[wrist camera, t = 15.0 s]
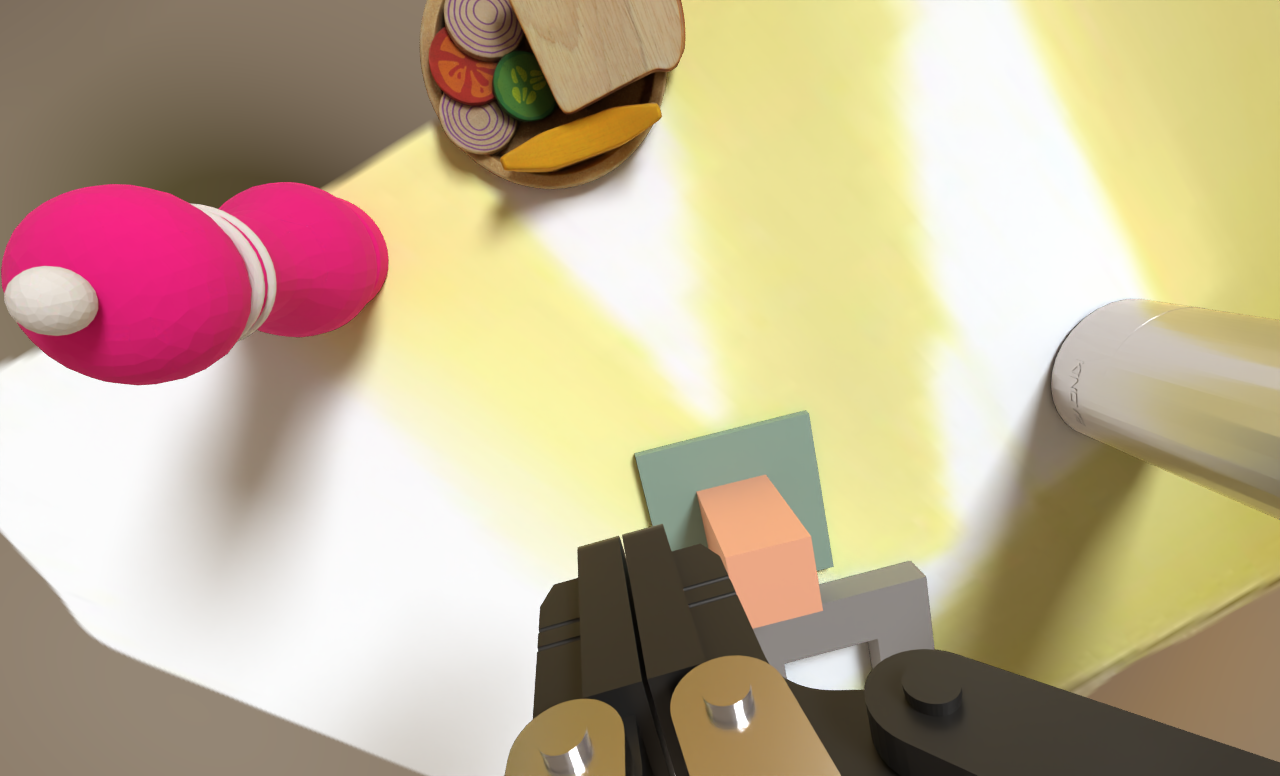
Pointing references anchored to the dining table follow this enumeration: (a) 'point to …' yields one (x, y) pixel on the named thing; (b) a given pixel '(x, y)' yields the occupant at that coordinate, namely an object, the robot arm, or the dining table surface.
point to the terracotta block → (762, 550)
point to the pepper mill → (185, 275)
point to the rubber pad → (736, 477)
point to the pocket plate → (857, 618)
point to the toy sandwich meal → (549, 81)
